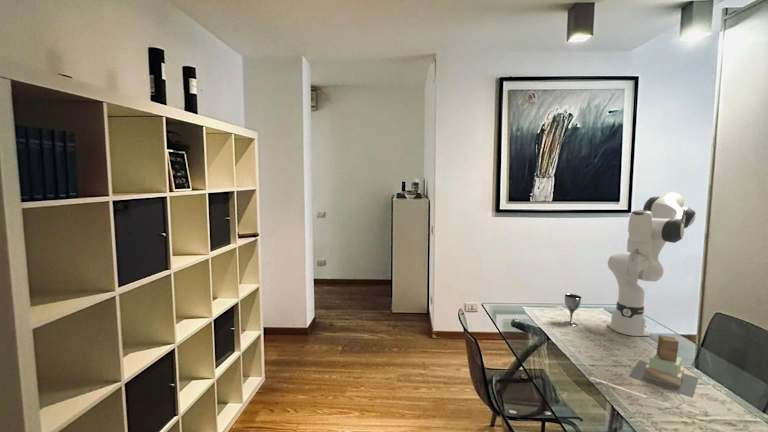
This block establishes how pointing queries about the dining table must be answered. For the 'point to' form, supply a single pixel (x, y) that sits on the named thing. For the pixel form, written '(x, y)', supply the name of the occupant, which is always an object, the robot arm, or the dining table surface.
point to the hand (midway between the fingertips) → (637, 280)
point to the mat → (685, 387)
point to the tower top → (665, 364)
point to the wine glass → (572, 306)
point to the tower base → (664, 376)
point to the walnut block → (667, 348)
